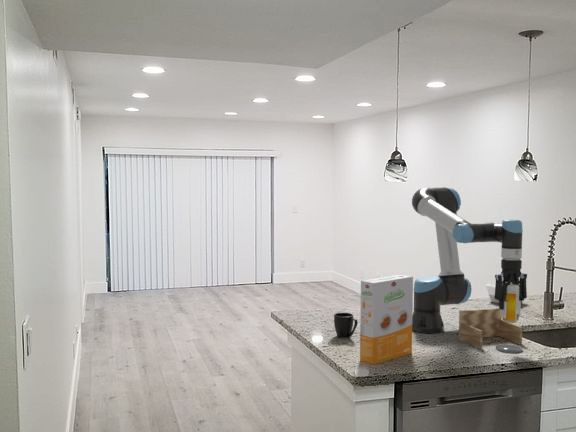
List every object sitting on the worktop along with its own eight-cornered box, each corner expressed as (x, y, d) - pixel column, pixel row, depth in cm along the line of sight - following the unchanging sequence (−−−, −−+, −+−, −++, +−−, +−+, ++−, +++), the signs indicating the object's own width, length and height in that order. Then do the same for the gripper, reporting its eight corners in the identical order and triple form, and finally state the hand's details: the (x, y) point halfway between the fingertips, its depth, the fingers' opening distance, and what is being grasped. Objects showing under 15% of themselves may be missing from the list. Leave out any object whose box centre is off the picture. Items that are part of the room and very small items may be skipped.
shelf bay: (479, 348, 233) (480, 318, 232) (458, 338, 247) (459, 310, 246) (521, 344, 239) (522, 315, 238) (499, 335, 253) (499, 307, 252)
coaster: (506, 354, 225) (506, 352, 225) (490, 347, 235) (490, 345, 235) (528, 351, 228) (528, 350, 228) (511, 344, 238) (511, 343, 238)
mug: (348, 342, 241) (348, 319, 240) (330, 335, 251) (330, 314, 250) (363, 339, 246) (363, 317, 245) (344, 333, 255) (344, 311, 255)
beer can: (505, 319, 235) (505, 282, 234) (520, 321, 231) (521, 283, 230) (499, 321, 230) (500, 284, 229) (515, 324, 226) (516, 285, 225)
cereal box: (399, 349, 231) (400, 274, 229) (411, 352, 226) (413, 276, 225) (360, 360, 217) (360, 280, 215) (372, 364, 212) (373, 283, 210)
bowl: (497, 297, 334) (498, 281, 333) (527, 302, 320) (527, 285, 319) (480, 301, 322) (481, 284, 321) (510, 307, 309) (511, 289, 308)
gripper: (497, 261, 223) (496, 320, 224) (538, 259, 228) (536, 317, 230) (485, 258, 230) (484, 316, 231) (524, 256, 236) (523, 313, 237)
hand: (510, 316), depth 230 cm, fingers closed on beer can, 6 cm apart
